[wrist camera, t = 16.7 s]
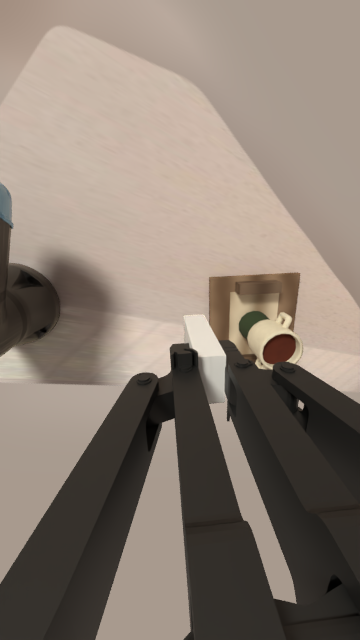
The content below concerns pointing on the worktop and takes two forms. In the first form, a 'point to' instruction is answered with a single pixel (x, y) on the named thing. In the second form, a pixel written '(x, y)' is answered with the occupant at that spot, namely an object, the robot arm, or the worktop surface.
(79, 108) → the worktop surface
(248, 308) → the seating jig
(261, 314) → the character mug
